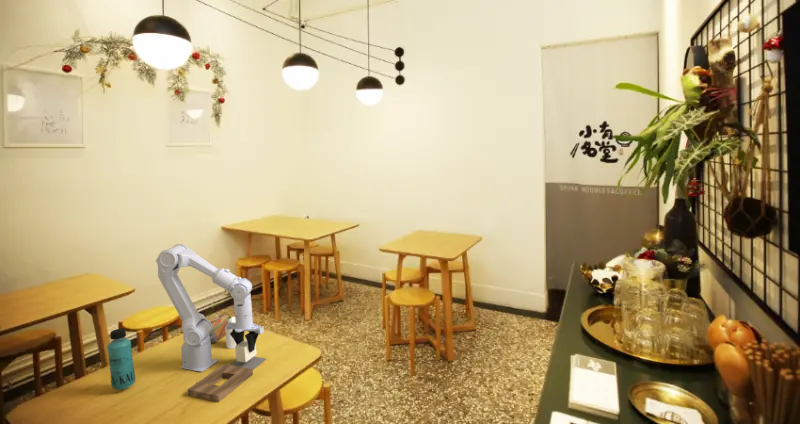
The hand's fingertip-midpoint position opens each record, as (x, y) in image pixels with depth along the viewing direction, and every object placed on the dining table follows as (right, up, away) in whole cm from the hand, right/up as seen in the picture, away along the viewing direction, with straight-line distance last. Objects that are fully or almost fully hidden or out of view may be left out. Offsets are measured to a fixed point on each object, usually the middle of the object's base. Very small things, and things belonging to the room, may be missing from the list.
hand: (246, 349), depth 147 cm
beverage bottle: (-34, -8, -14) cm, 38 cm away
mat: (0, -5, +1) cm, 5 cm away
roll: (-10, -3, +15) cm, 18 cm away
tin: (-19, -2, +22) cm, 29 cm away
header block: (-3, -7, -13) cm, 15 cm away
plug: (0, -3, 0) cm, 3 cm away
